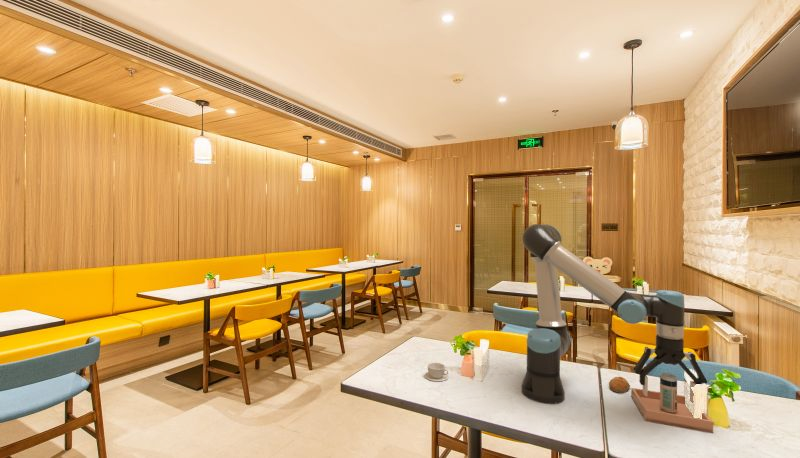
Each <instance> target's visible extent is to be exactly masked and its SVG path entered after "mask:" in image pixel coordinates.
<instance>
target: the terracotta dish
mask: <svg viewBox="0 0 800 458" xmlns="http://www.w3.org/2000/svg"><path fill="white" fill-rule="evenodd" d="M630 388H631V389H630V390H631V391H630V393H631V394H630V395H631V396H630V398H631V397H632V398H631V399H632V401H633V402H635V403H634V404H635V406H636V407H637V410H638V411H639V412H640V414H641V415H642V418H643V419H644V421H645V422H648V423H649V422H650V423H655V424H660V425H665V426H672V427H675V428H683V429H688V430H693V431H699V432H703V433H704V432H705V433H711V434H713V433H714V421H713V420H712V419H711V418H710V417H709V416H708V414H706V413H705V412H704V413H702V419H700V418H694V417H693V415H692V413H691V412H690V411H689V409H688V408H687V407H686V405H685V396H686V395H680V394H677V412H675V413H668V412H665V411H663V410H662V409H661V408H660V391H655V390H648V396H645V395H644V394H643V388H642V389H641V388H635V387H630Z"/></svg>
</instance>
